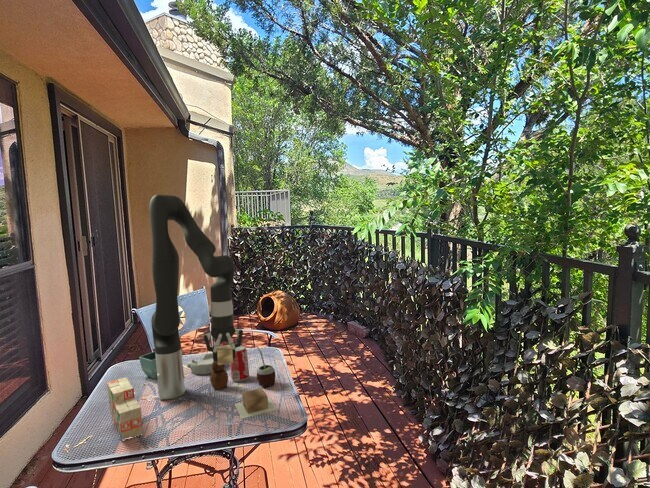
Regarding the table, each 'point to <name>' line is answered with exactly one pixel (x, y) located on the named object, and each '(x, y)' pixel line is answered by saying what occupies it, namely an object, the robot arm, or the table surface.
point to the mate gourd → (265, 374)
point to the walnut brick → (255, 400)
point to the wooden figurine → (218, 376)
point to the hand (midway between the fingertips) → (224, 360)
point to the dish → (202, 365)
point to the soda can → (240, 365)
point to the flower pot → (149, 364)
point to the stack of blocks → (124, 408)
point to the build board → (244, 413)
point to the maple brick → (224, 355)
